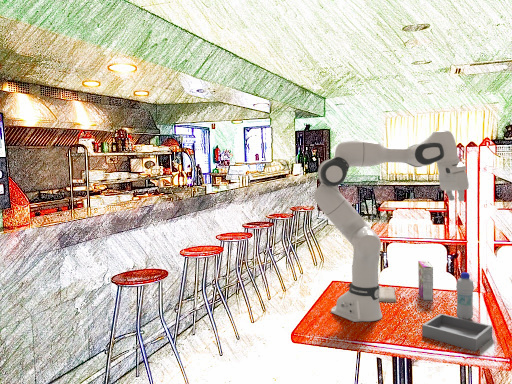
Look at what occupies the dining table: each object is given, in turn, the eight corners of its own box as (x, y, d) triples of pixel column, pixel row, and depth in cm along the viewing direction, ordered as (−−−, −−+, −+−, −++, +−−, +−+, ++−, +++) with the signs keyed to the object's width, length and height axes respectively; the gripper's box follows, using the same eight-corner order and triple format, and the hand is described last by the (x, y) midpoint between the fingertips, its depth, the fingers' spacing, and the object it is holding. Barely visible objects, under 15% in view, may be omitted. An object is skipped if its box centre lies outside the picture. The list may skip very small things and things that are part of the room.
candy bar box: (417, 292, 228) (417, 260, 226) (428, 293, 227) (428, 260, 225) (422, 300, 217) (422, 266, 215) (433, 300, 216) (433, 266, 214)
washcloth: (394, 291, 232) (394, 285, 232) (396, 303, 215) (396, 297, 215) (370, 290, 235) (369, 284, 235) (370, 302, 218) (370, 296, 217)
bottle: (475, 322, 189) (475, 274, 187) (458, 321, 190) (458, 274, 188) (471, 316, 195) (471, 270, 193) (454, 315, 197) (454, 270, 195)
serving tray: (422, 336, 177) (422, 324, 177) (440, 323, 188) (440, 313, 188) (475, 351, 163) (476, 339, 162) (492, 337, 174) (492, 326, 173)
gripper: (432, 171, 201) (439, 201, 202) (452, 169, 181) (459, 203, 181) (446, 167, 201) (453, 198, 201) (467, 165, 181) (475, 199, 181)
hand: (456, 200), depth 191 cm, fingers open, 8 cm apart
